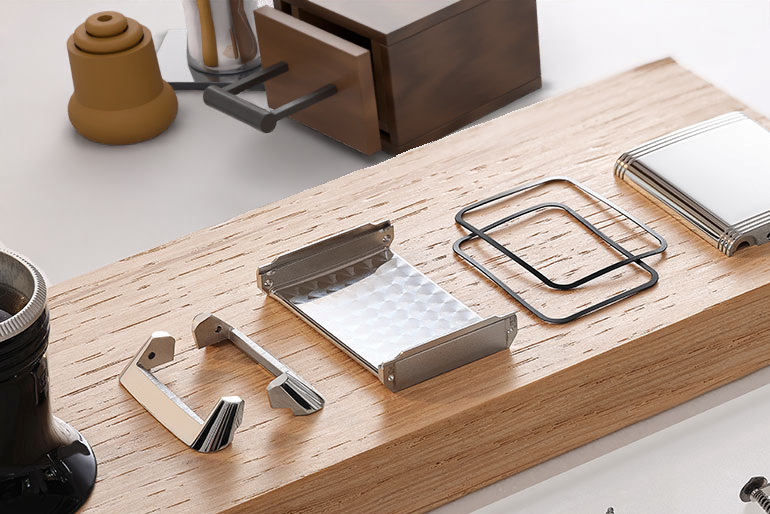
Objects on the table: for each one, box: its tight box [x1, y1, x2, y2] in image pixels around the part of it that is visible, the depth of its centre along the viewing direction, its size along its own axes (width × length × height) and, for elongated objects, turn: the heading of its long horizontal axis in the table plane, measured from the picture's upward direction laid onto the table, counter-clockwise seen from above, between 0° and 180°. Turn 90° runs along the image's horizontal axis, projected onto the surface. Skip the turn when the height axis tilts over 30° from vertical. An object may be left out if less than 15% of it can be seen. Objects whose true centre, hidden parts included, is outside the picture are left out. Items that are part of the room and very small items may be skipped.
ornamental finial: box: [66, 10, 179, 146], centre depth 145 cm, size 8×8×8 cm
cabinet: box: [272, 0, 543, 157], centre depth 148 cm, size 14×12×9 cm
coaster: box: [156, 29, 266, 91], centre depth 155 cm, size 11×8×1 cm
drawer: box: [202, 4, 390, 156], centre depth 144 cm, size 19×11×7 cm, turn 140°
